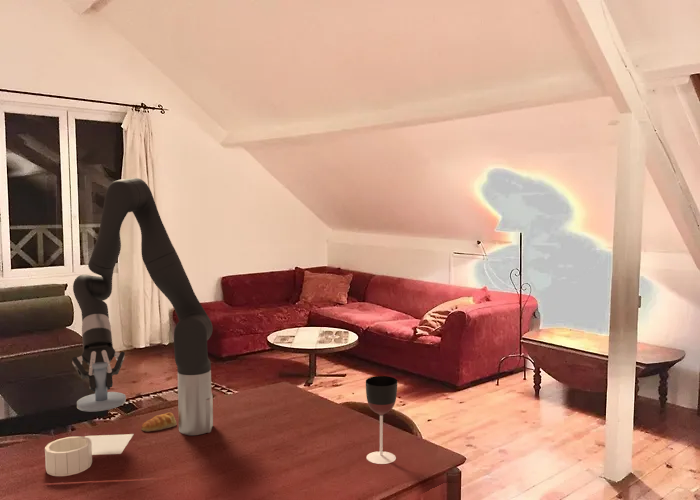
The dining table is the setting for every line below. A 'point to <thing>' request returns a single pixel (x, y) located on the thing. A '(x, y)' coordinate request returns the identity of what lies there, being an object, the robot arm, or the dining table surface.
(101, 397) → the lid
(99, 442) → the mat
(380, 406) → the wineglass
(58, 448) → the cup
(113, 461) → the dining table surface
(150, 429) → the pastry
